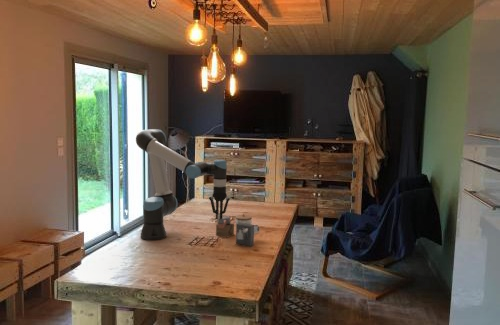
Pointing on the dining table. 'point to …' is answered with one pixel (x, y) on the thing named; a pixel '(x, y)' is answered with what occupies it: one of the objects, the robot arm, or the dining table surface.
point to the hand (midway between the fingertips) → (218, 224)
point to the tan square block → (225, 230)
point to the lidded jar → (243, 219)
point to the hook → (246, 232)
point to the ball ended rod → (223, 221)
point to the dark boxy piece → (250, 239)
